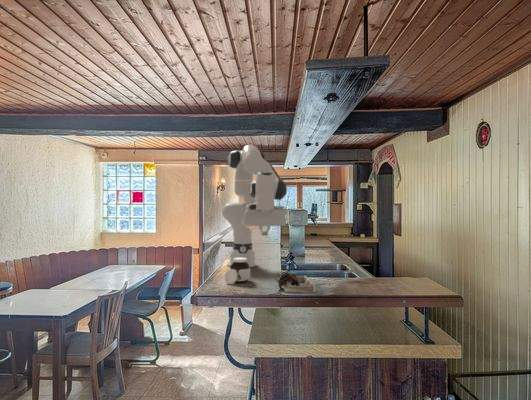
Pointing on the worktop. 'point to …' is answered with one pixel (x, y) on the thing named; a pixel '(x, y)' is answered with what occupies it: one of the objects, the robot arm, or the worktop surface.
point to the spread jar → (238, 271)
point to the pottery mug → (288, 280)
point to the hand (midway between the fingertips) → (264, 235)
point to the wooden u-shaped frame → (309, 288)
